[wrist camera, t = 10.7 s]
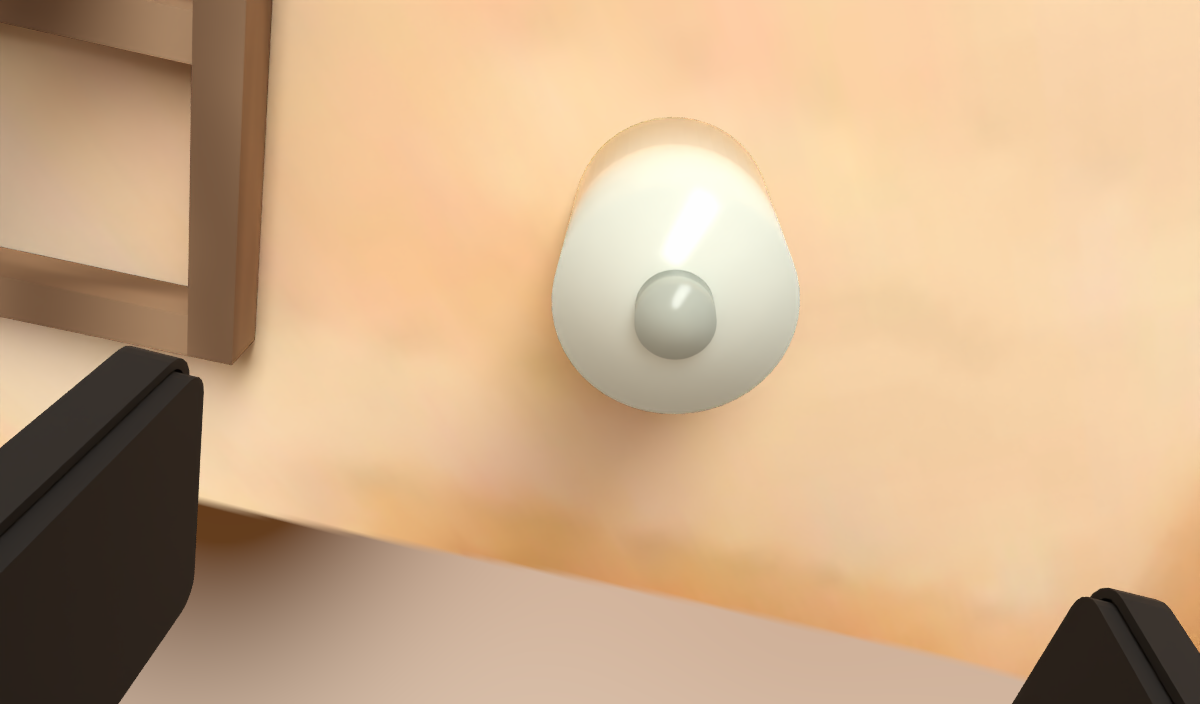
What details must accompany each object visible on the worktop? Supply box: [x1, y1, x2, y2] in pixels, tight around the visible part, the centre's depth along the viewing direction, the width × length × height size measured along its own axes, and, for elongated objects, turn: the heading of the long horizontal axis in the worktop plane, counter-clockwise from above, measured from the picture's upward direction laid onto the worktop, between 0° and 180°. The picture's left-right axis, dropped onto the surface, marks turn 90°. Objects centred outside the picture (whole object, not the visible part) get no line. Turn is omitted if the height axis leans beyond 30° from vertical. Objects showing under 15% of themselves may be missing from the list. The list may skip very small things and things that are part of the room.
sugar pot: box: [552, 117, 800, 414], centre depth 22 cm, size 5×5×7 cm
